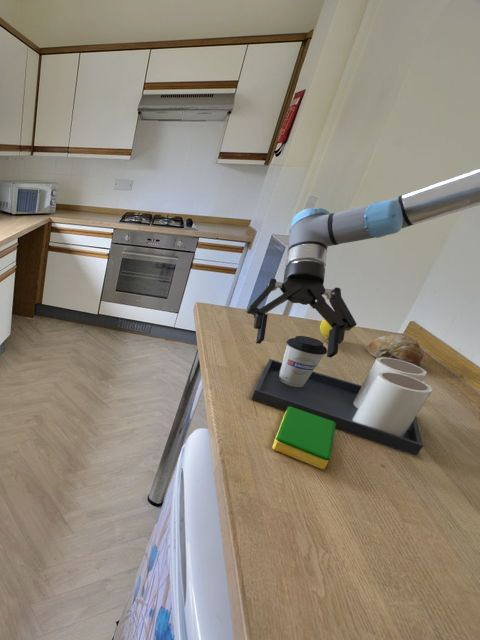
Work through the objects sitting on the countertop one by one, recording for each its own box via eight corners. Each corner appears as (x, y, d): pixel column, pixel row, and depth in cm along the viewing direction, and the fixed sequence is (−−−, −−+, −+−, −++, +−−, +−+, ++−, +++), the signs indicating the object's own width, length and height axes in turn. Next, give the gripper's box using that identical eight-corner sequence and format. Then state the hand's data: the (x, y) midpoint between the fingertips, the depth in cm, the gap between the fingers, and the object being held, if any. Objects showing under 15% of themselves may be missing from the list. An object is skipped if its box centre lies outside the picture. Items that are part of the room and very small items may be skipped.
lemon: (322, 342, 112) (335, 315, 108) (310, 334, 117) (322, 308, 113) (345, 344, 111) (358, 317, 108) (332, 336, 116) (344, 310, 113)
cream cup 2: (401, 427, 76) (430, 381, 71) (404, 445, 71) (435, 396, 67) (352, 412, 80) (376, 367, 76) (352, 427, 75) (378, 380, 71)
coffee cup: (272, 370, 94) (289, 330, 90) (309, 380, 91) (328, 339, 86) (271, 382, 89) (289, 341, 85) (311, 393, 85) (331, 351, 81)
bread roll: (359, 366, 107) (371, 346, 102) (367, 341, 112) (380, 320, 106) (411, 381, 101) (427, 359, 96) (417, 353, 106) (434, 332, 100)
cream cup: (398, 409, 81) (425, 365, 77) (400, 425, 76) (429, 379, 72) (352, 396, 85) (375, 353, 81) (352, 409, 81) (376, 365, 76)
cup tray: (407, 409, 83) (412, 400, 82) (416, 456, 69) (423, 446, 68) (266, 366, 97) (269, 358, 96) (251, 399, 84) (255, 389, 83)
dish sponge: (271, 449, 69) (276, 437, 68) (284, 415, 79) (288, 405, 78) (323, 470, 65) (330, 458, 64) (330, 432, 74) (336, 421, 73)
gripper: (360, 284, 97) (354, 366, 91) (240, 268, 106) (227, 342, 100) (380, 267, 90) (375, 355, 84) (250, 251, 99) (237, 329, 93)
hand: (295, 348), depth 92 cm, fingers open, 13 cm apart
